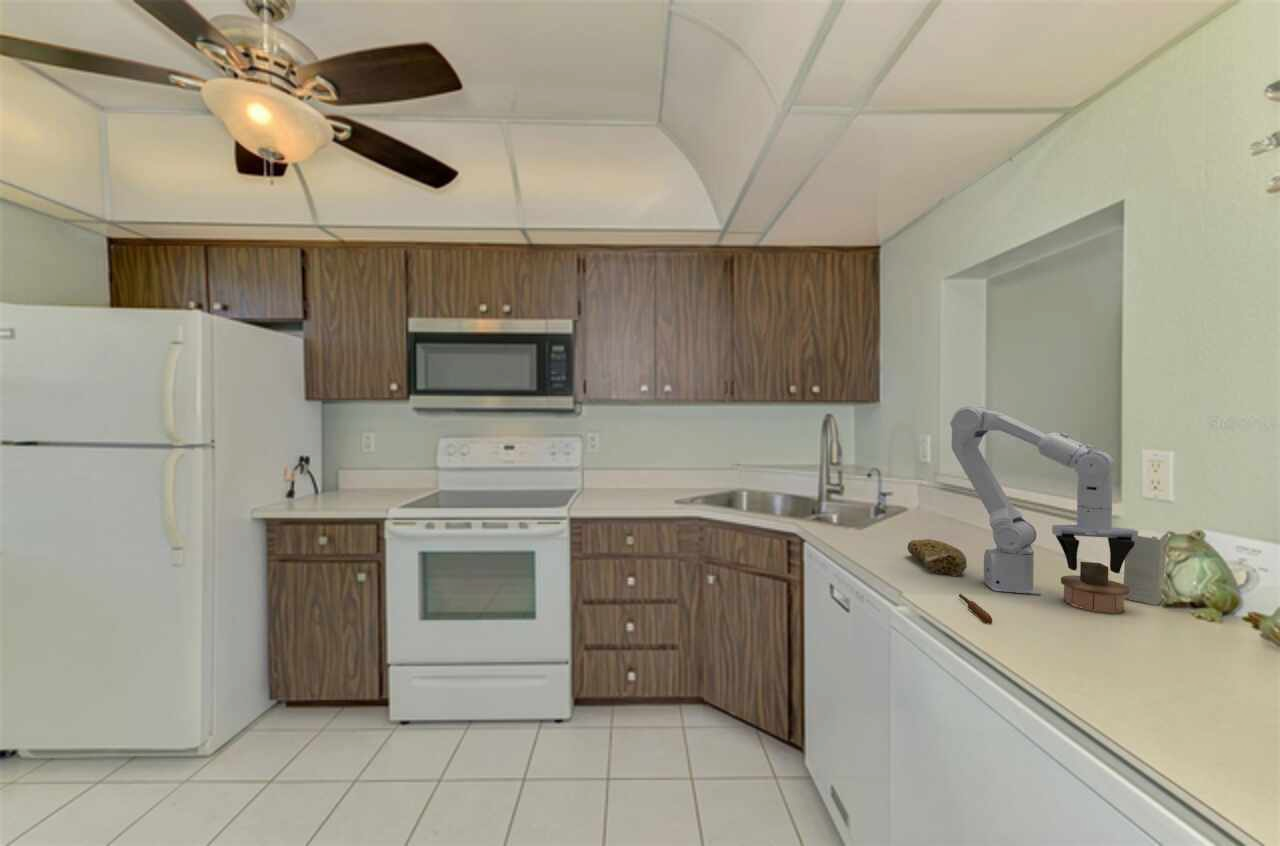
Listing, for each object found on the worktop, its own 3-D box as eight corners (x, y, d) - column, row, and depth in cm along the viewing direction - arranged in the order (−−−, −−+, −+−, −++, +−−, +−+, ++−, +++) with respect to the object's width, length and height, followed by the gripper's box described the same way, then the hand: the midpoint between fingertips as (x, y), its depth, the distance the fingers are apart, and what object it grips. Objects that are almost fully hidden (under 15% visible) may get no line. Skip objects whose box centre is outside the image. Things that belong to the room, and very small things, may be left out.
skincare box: (1130, 591, 126) (1131, 527, 126) (1166, 598, 121) (1167, 531, 121) (1122, 599, 120) (1123, 532, 120) (1159, 607, 116) (1160, 537, 116)
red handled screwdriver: (993, 626, 106) (993, 616, 106) (985, 626, 106) (985, 615, 106) (962, 599, 121) (962, 590, 121) (955, 599, 121) (955, 590, 121)
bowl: (1078, 610, 114) (1078, 591, 114) (1058, 596, 122) (1058, 578, 122) (1131, 614, 111) (1131, 595, 111) (1107, 600, 120) (1107, 582, 120)
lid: (1075, 592, 113) (1075, 569, 113) (1051, 577, 123) (1052, 556, 123) (1141, 597, 109) (1141, 573, 109) (1111, 581, 120) (1111, 559, 120)
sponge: (972, 583, 136) (959, 549, 154) (967, 554, 135) (954, 523, 153) (914, 586, 142) (908, 553, 160) (909, 558, 140) (903, 528, 159)
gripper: (1062, 508, 115) (1062, 572, 115) (1147, 512, 111) (1146, 578, 111) (1048, 503, 121) (1047, 564, 122) (1127, 506, 117) (1126, 569, 118)
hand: (1093, 570), depth 117 cm, fingers open, 7 cm apart
